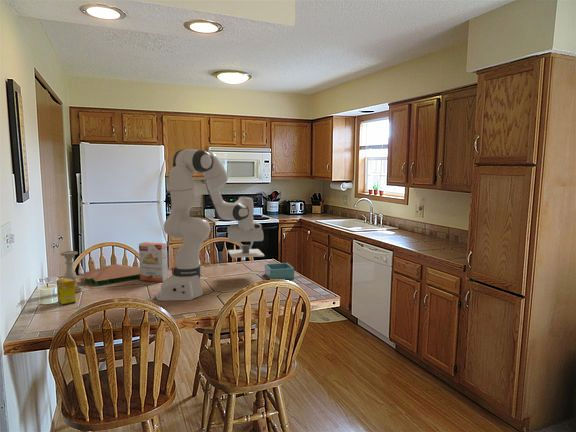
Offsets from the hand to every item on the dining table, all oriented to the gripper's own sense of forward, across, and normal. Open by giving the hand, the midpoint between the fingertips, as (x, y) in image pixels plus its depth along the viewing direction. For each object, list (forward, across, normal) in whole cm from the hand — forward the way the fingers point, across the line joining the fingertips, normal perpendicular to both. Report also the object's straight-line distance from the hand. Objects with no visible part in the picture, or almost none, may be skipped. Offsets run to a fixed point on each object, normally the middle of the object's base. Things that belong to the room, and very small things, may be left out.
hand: (245, 249), depth 234 cm
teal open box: (+16, +19, -2) cm, 26 cm away
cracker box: (+17, -50, +8) cm, 54 cm away
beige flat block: (+18, -72, +18) cm, 76 cm away
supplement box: (+18, -88, -23) cm, 92 cm away
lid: (+3, 0, 0) cm, 3 cm away
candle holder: (+18, -90, -5) cm, 92 cm away
